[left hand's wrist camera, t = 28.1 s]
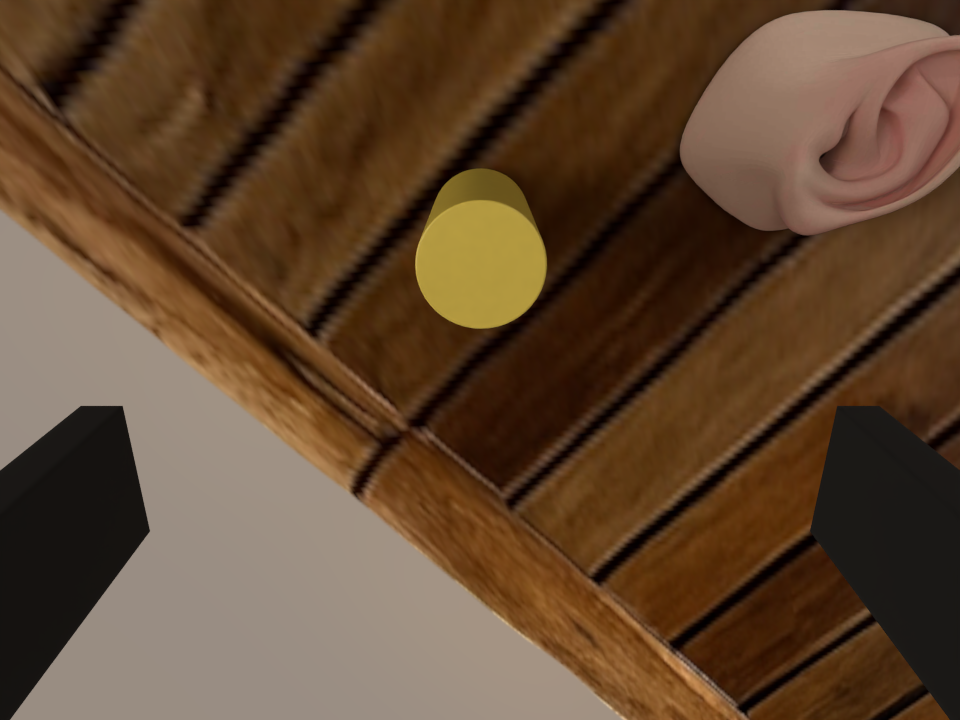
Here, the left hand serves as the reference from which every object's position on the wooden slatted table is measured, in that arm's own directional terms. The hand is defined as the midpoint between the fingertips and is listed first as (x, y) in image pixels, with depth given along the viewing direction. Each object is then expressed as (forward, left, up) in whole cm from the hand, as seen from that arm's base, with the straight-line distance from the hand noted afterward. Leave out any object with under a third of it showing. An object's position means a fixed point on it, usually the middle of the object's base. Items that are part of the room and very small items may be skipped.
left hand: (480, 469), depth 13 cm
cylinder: (0, 0, -26) cm, 27 cm away
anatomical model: (-15, +10, -26) cm, 32 cm away
